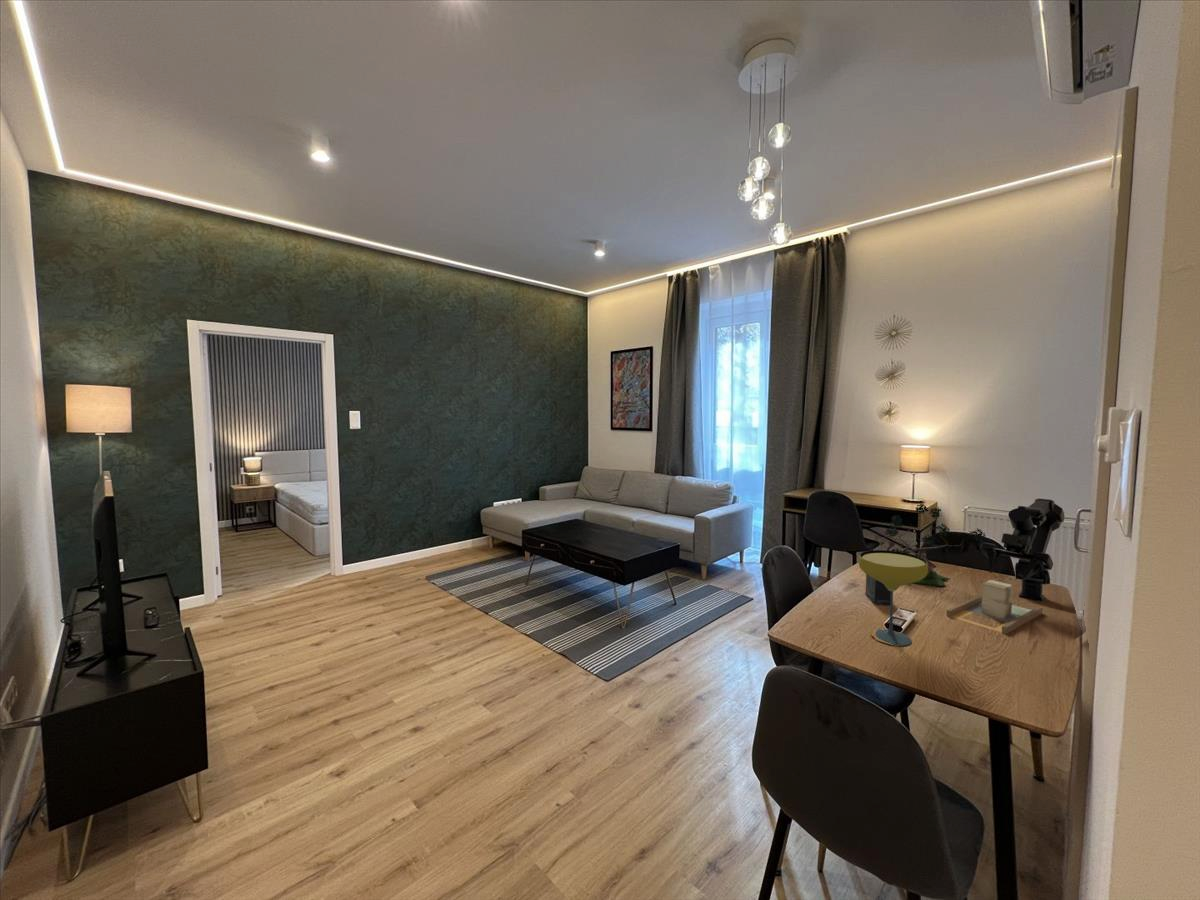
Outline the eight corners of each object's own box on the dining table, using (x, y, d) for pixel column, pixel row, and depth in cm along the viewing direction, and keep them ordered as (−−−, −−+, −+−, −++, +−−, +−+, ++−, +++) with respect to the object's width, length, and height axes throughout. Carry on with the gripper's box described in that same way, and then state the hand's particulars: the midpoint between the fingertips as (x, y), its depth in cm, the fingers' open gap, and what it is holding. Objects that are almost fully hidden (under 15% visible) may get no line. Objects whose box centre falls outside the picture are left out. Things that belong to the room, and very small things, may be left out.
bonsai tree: (872, 581, 199) (873, 504, 196) (887, 566, 216) (888, 496, 214) (980, 603, 175) (983, 515, 172) (988, 584, 192) (990, 504, 190)
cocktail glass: (844, 632, 155) (845, 554, 153) (883, 621, 162) (885, 547, 160) (899, 657, 138) (900, 571, 136) (940, 644, 145) (942, 561, 144)
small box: (894, 606, 174) (894, 577, 173) (874, 605, 175) (874, 576, 175) (883, 595, 184) (883, 567, 184) (864, 594, 186) (865, 567, 185)
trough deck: (984, 602, 175) (984, 592, 175) (1041, 617, 161) (1042, 607, 161) (946, 620, 161) (946, 609, 161) (1005, 638, 148) (1006, 627, 147)
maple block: (989, 608, 166) (990, 579, 165) (1011, 614, 161) (1012, 584, 160) (981, 612, 163) (982, 583, 162) (1003, 618, 158) (1004, 588, 157)
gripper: (983, 519, 174) (967, 555, 169) (1051, 529, 158) (1035, 569, 153) (992, 538, 179) (977, 573, 174) (1059, 550, 163) (1044, 589, 158)
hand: (1006, 575), depth 165 cm, fingers open, 9 cm apart
